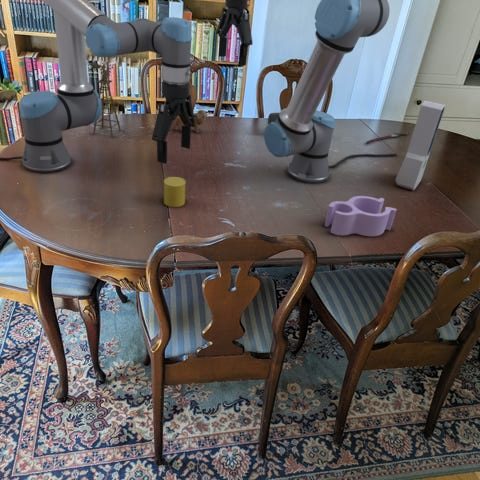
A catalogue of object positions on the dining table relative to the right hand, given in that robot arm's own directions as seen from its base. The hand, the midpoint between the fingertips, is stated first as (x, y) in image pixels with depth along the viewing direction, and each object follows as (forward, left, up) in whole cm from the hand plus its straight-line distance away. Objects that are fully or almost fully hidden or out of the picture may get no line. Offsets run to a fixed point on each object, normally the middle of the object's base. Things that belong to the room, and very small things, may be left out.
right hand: (231, 60), depth 168 cm
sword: (-77, +16, -34) cm, 86 cm away
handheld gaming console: (-36, -3, -34) cm, 49 cm away
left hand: (+38, +31, -18) cm, 52 cm away
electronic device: (-48, +53, -34) cm, 79 cm away
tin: (+38, +32, -34) cm, 60 cm away
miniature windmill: (+37, -31, -34) cm, 59 cm away
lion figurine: (+4, -22, -34) cm, 40 cm away
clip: (-6, +68, -34) cm, 76 cm away
